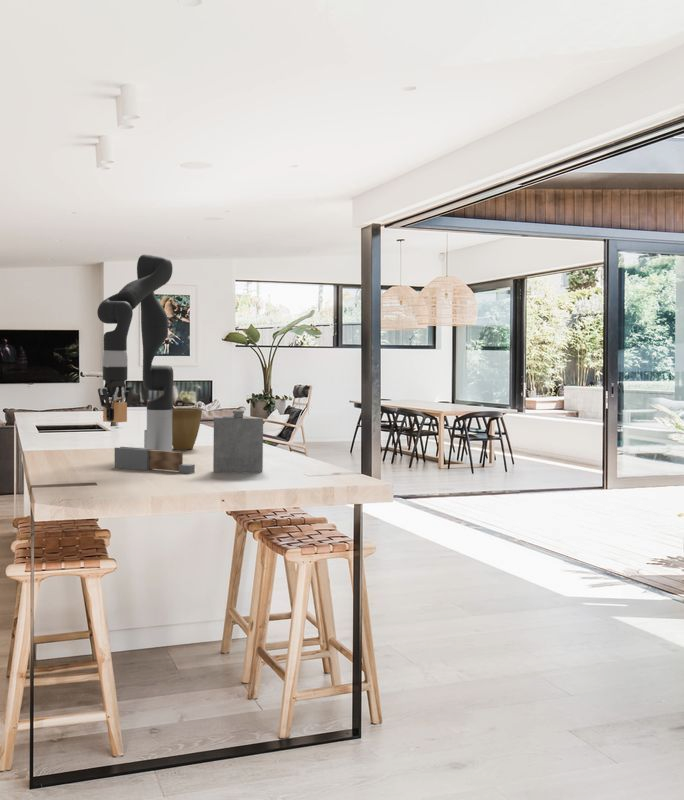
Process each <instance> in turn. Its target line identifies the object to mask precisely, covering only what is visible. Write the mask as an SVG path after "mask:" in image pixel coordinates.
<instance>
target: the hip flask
mask: <svg viewBox="0 0 684 800" xmlns="http://www.w3.org/2000/svg"><path fill="white" fill-rule="evenodd" d="M232 414H233V415H230V416H229V415H228V416H222V417H221V416H220V417H213V450H212V451H213V454H212V455H213V462H212V463H213V464H212V466H213V469H212V470H213V471H214V472H213V471H212V472H213V473H232V472H254V473H263V472H262V471H264V470H263V467H264V465H263V464H264V461H263V460H264V417H244V414H245V411H244V410H240V409H239V410H238V409H236V410H232Z"/></svg>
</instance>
